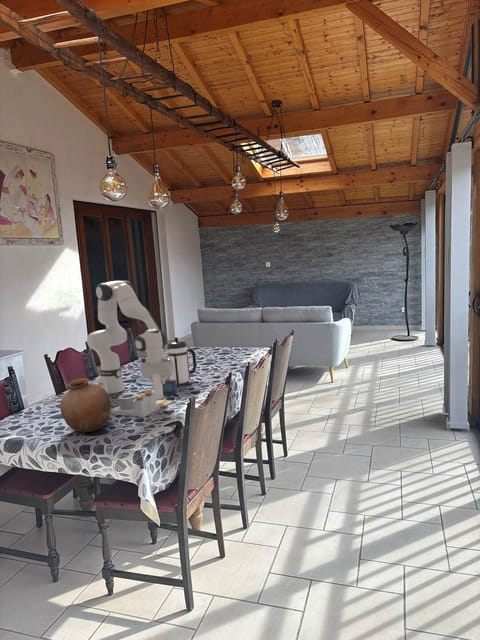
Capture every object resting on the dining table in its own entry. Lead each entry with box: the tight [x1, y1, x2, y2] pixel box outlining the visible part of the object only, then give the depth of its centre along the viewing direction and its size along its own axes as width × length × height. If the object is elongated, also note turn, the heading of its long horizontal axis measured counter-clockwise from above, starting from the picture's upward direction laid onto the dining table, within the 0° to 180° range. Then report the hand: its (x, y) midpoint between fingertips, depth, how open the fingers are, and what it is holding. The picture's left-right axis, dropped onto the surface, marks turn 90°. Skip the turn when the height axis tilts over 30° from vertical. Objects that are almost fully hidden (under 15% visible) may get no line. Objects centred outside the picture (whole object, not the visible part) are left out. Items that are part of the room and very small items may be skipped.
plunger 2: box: [143, 389, 153, 396], centre depth 253 cm, size 4×4×7 cm
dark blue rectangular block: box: [163, 376, 178, 396], centre depth 278 cm, size 9×3×11 cm, turn 78°
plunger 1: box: [135, 394, 145, 401], centre depth 246 cm, size 4×4×7 cm
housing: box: [110, 392, 161, 418], centre depth 253 cm, size 22×14×8 cm, turn 65°
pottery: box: [59, 377, 112, 433], centre depth 228 cm, size 23×23×25 cm
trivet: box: [156, 399, 174, 409], centre depth 262 cm, size 10×10×1 cm
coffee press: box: [165, 337, 197, 388], centre depth 300 cm, size 17×16×30 cm
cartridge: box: [152, 374, 164, 400], centre depth 260 cm, size 5×5×15 cm
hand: (158, 383), depth 260 cm, fingers closed on cartridge, 5 cm apart
